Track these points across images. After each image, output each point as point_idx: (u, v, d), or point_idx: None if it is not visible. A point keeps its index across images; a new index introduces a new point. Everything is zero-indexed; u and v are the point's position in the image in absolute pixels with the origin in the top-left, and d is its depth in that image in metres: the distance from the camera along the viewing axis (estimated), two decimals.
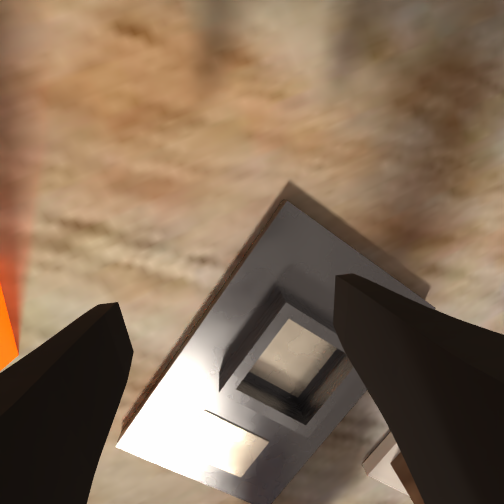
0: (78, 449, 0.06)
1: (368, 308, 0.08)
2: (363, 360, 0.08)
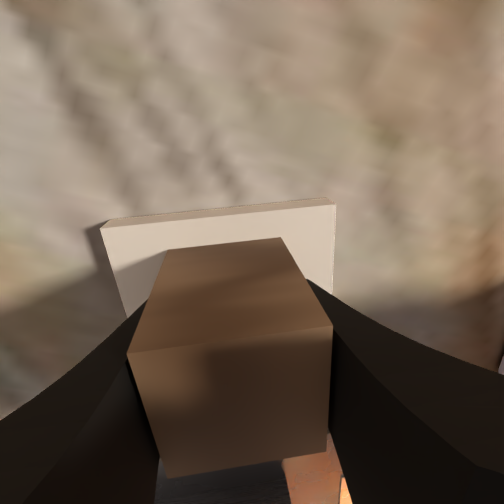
0: (148, 438, 0.06)
1: None
2: None
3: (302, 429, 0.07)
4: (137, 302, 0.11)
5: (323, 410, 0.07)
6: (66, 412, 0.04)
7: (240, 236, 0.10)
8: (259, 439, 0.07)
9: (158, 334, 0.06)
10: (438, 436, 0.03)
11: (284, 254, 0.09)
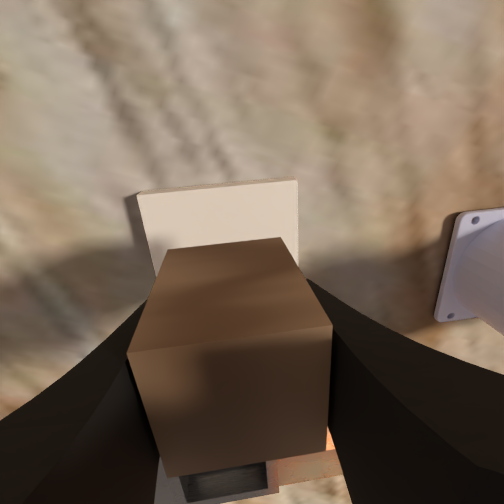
0: (148, 438, 0.06)
1: None
2: None
3: (302, 428, 0.07)
4: (159, 249, 0.15)
5: (323, 409, 0.07)
6: (66, 412, 0.04)
7: (231, 202, 0.15)
8: (259, 439, 0.07)
9: (158, 334, 0.06)
10: (438, 436, 0.03)
11: (284, 254, 0.09)
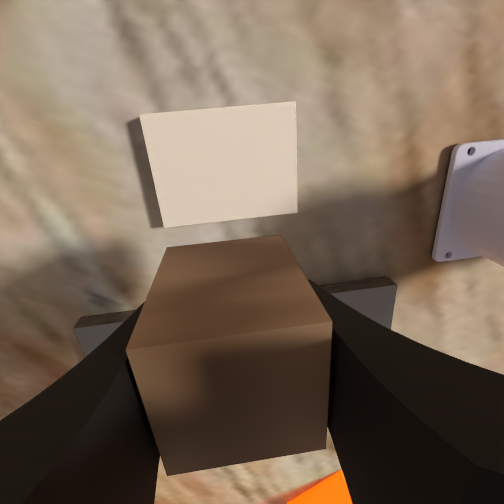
0: (148, 438, 0.06)
1: None
2: None
3: (302, 426, 0.07)
4: (162, 173, 0.16)
5: (323, 407, 0.07)
6: (66, 412, 0.04)
7: (231, 124, 0.15)
8: (259, 436, 0.07)
9: (157, 330, 0.06)
10: (438, 437, 0.03)
11: (284, 251, 0.09)
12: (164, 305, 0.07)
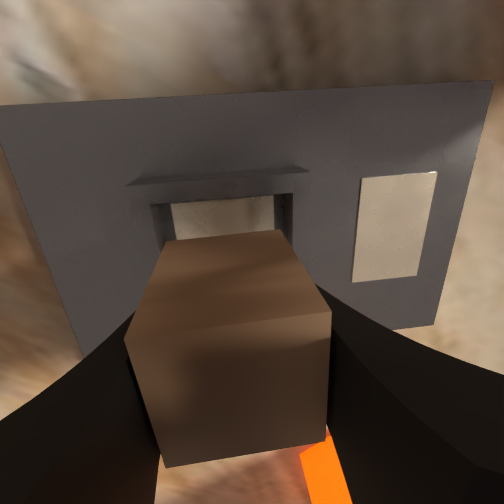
0: (148, 438, 0.06)
1: None
2: None
3: (301, 418, 0.07)
4: None
5: (322, 398, 0.07)
6: (66, 412, 0.04)
7: None
8: (258, 428, 0.07)
9: (156, 320, 0.06)
10: (438, 436, 0.03)
11: (283, 245, 0.09)
12: (163, 296, 0.07)
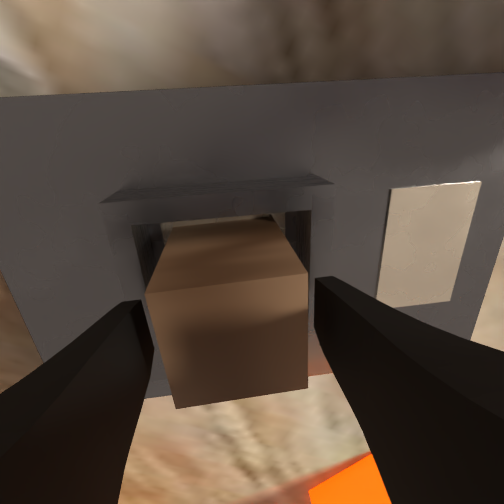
0: (111, 444, 0.06)
1: (342, 311, 0.07)
2: (339, 364, 0.08)
3: (287, 366, 0.08)
4: None
5: (303, 349, 0.08)
6: (10, 420, 0.04)
7: None
8: (252, 374, 0.08)
9: (168, 282, 0.07)
10: None
11: (274, 228, 0.10)
12: (173, 266, 0.08)
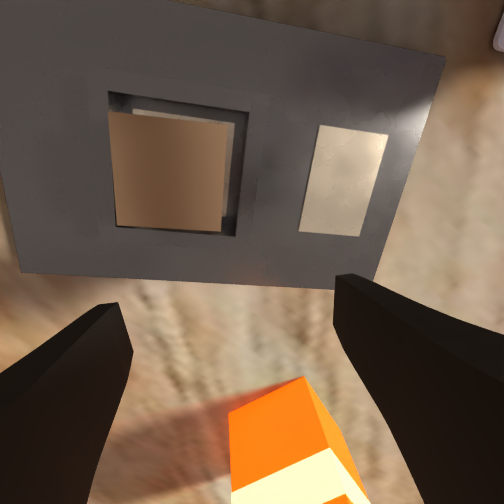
0: (78, 449, 0.06)
1: (368, 308, 0.08)
2: (363, 360, 0.08)
3: (206, 206, 0.11)
4: None
5: (219, 193, 0.11)
6: None
7: None
8: (179, 207, 0.11)
9: None
10: None
11: None
12: None
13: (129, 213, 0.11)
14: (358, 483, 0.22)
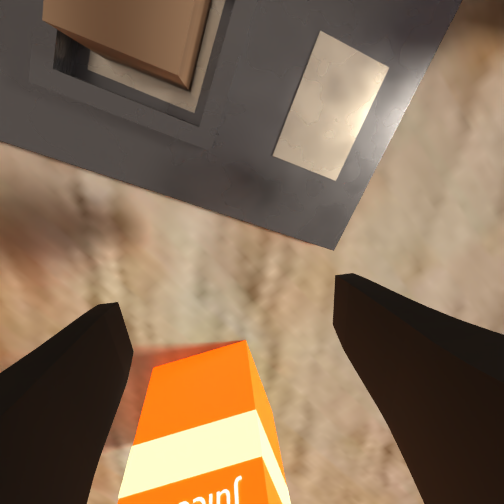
0: (78, 449, 0.06)
1: (368, 308, 0.08)
2: (363, 360, 0.08)
3: (165, 31, 0.09)
4: None
5: (186, 17, 0.09)
6: None
7: None
8: (130, 21, 0.09)
9: None
10: None
11: None
12: None
13: (62, 7, 0.08)
14: (279, 463, 0.20)
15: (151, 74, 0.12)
